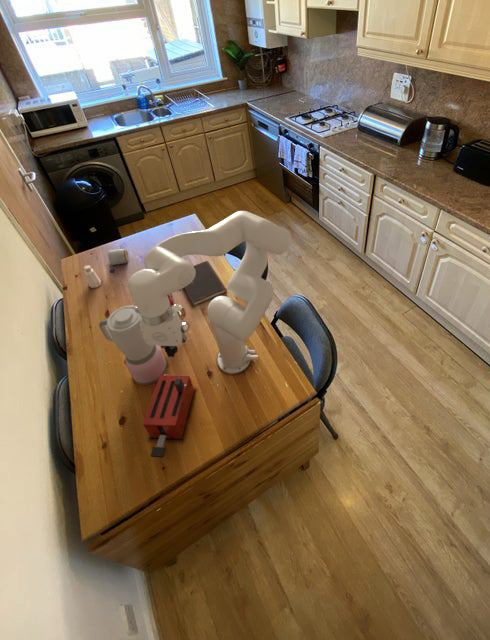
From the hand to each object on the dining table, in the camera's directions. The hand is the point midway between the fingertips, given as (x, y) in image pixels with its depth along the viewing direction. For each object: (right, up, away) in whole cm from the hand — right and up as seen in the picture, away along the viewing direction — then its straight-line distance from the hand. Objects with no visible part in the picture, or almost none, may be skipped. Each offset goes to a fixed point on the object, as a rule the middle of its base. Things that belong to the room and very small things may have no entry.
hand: (172, 352), depth 99 cm
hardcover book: (-7, +12, +63) cm, 64 cm away
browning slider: (-1, -15, +11) cm, 19 cm away
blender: (-19, -16, +28) cm, 37 cm away
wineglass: (-10, -4, +43) cm, 44 cm away
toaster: (-4, -25, +15) cm, 30 cm away
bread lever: (-5, -30, +4) cm, 30 cm away
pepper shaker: (-58, +11, +64) cm, 87 cm away
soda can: (-18, +2, +51) cm, 54 cm away
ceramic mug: (-52, +22, +78) cm, 96 cm away
